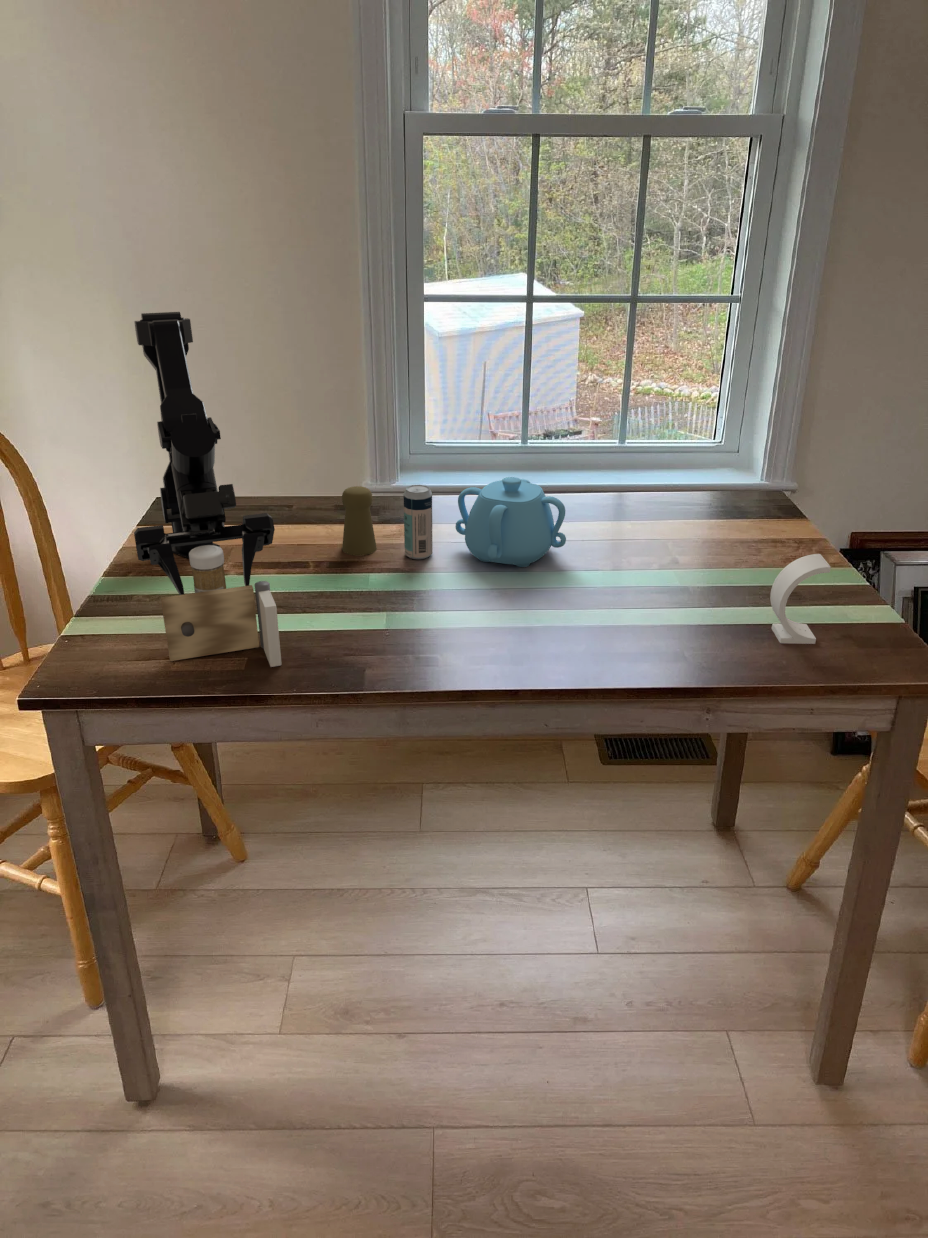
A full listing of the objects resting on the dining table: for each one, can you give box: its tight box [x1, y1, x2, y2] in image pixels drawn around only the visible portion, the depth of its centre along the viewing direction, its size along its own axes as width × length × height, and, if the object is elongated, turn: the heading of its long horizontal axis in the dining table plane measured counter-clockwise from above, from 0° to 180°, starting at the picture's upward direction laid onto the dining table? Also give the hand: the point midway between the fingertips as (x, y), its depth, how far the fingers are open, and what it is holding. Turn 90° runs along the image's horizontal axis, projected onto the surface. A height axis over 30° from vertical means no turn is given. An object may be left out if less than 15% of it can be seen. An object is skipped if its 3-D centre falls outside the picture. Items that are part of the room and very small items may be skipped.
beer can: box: [402, 484, 434, 560], centre depth 159 cm, size 5×5×12 cm
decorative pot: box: [454, 476, 567, 568], centre depth 159 cm, size 16×16×14 cm
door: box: [160, 584, 260, 662], centre depth 128 cm, size 12×2×9 cm, turn 111°
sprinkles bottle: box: [189, 545, 227, 593], centre depth 132 cm, size 5×5×14 cm
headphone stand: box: [769, 553, 832, 645], centre depth 134 cm, size 5×6×12 cm
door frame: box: [254, 580, 283, 668], centre depth 128 cm, size 7×2×10 cm, turn 21°
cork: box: [341, 485, 378, 557], centre depth 162 cm, size 6×6×11 cm
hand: (215, 592), depth 130 cm, fingers open, 8 cm apart
